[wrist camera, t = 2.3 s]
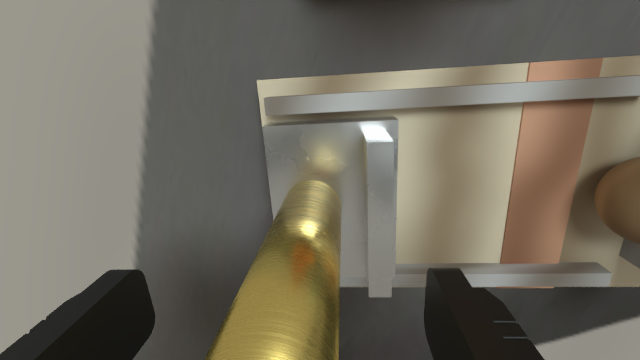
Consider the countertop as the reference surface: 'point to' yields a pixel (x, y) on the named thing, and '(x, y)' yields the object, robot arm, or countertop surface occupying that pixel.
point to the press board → (500, 166)
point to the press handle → (316, 237)
